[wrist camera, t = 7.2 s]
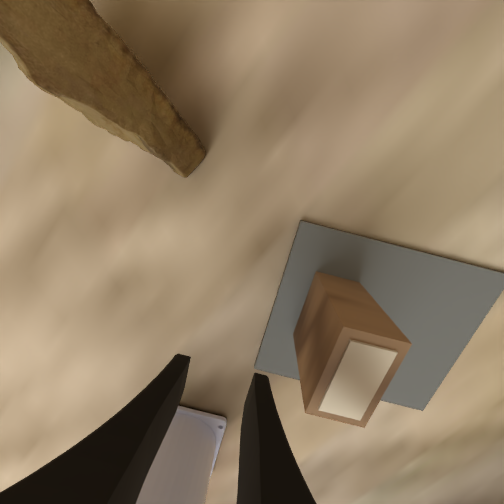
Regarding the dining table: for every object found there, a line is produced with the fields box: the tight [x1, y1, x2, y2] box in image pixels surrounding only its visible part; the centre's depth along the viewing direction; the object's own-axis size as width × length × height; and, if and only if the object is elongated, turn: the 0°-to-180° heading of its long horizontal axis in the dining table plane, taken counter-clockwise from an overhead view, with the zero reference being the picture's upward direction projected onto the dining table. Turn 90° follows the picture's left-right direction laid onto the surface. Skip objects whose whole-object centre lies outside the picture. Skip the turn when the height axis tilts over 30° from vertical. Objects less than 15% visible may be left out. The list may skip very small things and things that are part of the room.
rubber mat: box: [254, 220, 504, 411], centre depth 20 cm, size 14×16×1 cm
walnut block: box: [293, 271, 412, 428], centre depth 16 cm, size 6×4×7 cm, turn 166°
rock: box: [0, 0, 206, 177], centre depth 13 cm, size 11×9×10 cm
